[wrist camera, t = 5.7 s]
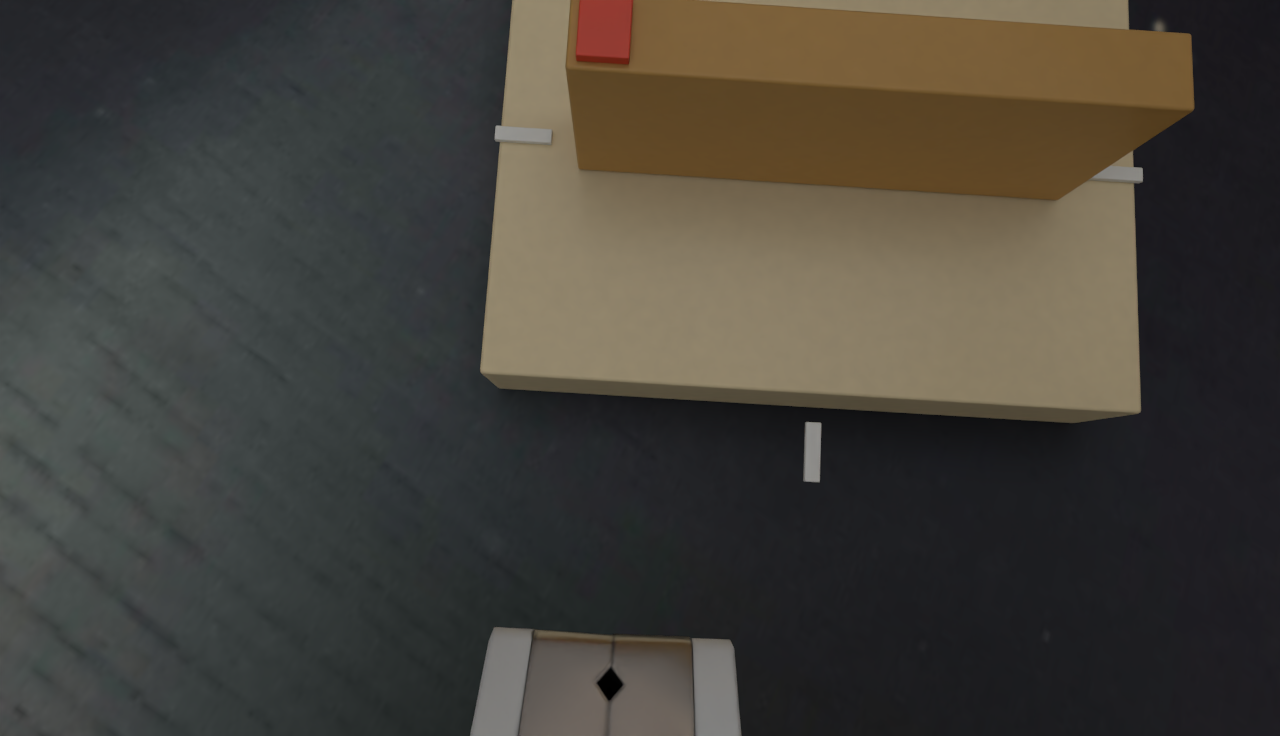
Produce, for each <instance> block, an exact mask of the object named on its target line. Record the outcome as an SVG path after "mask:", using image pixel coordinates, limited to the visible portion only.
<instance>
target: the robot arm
mask: <svg viewBox="0 0 1280 736" xmlns="http://www.w3.org/2000/svg"><path fill="white" fill-rule="evenodd" d="M470 736H741V725H740V713H739V700H738V688H737V676H736V664H735V652H734V647H733V645H732V643H731V641H730V639H703V638H691V639H690V637H687V636H661V635H634V634H613V635H608V634H593V633H578V632H563V631H548V630H535V629H523V628H504V627H494V629H493V631H492V634H491V636H490V639H489V642H488V647H487V652H486V658H485V663H484V668H483V673H482V678H481V683H480V688H479V693H478V698H477V703H476V708H475V713H474V718H473V723H472V728H471V733H470Z"/></svg>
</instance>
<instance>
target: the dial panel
mask: <svg viewBox="0 0 1280 736" xmlns="http://www.w3.org/2000/svg"><path fill="white" fill-rule="evenodd" d="M701 1H716V2H731V3H746V4H760V5H775V6H790V7H804V8H819V9H834V10H848V11H863V12H878V13H892V14H907V15H922V16H936V17H951V18H966V19H981V20H995V21H1010V22H1025V23H1039V24H1054V25H1069V26H1083V27H1098V28H1113V29H1127V30H1129V13H1128V0H701ZM569 12H570V0H512V11H511V22H510V34H509V45H508V56H507V68H506V79H505V91H504V102H503V114H502V125H501V126H496V128H495V141H496V142H500V148H499V160H498V171H497V183H496V194H495V206H494V217H493V228H492V240H491V251H490V263H489V274H488V286H487V297H486V309H485V320H484V332H483V343H482V355H481V366H480V371H481V373H482V374H483V375H484V376H485V377H486V378H488V379H489V380H490V381H491V382H492V383H493V384H495V385H496V386H497V387H498V388H500V389H517V390H533V391H550V392H567V393H583V394H600V395H616V396H633V397H649V398H666V399H683V400H699V401H716V402H732V403H749V404H766V405H782V406H799V407H815V408H832V409H848V410H865V411H882V412H898V413H915V414H931V415H948V416H964V417H981V418H998V419H1014V420H1031V421H1047V422H1064V423H1078V422H1085V421H1091V420H1098V419H1105V418H1112V417H1118V416H1125V415H1132V414H1138V413H1140V411H1141V395H1140V363H1139V331H1138V299H1137V267H1136V236H1135V204H1134V183H1141V182H1143V168H1136V167H1133V151H1131V152H1130V153H1128V154H1127V155H1125V156H1124V157H1122V158H1121V159H1119V160H1118V161H1116V162H1115V163H1113V164H1112V165H1110V166H1109V167H1107V168H1106V169H1104V170H1103V171H1101V172H1100V173H1098V174H1097V175H1095V176H1094V177H1092V178H1091V179H1089V180H1088V181H1086V182H1085V183H1083V184H1082V185H1080V186H1079V187H1077V188H1075V189H1074V190H1072V191H1071V192H1069V193H1068V194H1066V195H1065V196H1063V197H1062V198H1060V199H1059V200H1048V199H1032V198H1017V197H1001V196H986V195H970V194H955V193H940V192H924V191H909V190H893V189H878V188H862V187H847V186H831V185H816V184H800V183H785V182H769V181H754V180H738V179H723V178H708V177H692V176H677V175H661V174H646V173H630V172H615V171H599V170H584V169H579V168H578V162H577V154H576V147H575V139H574V131H573V123H572V115H571V107H570V99H569V92H568V84H567V76H566V68H565V65H566V52H567V39H568V25H569ZM820 453H821V423H817V422H805V441H804V476H803V481H804V482H820Z"/></svg>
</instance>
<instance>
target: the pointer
mask: <svg viewBox="0 0 1280 736" xmlns="http://www.w3.org/2000/svg"><path fill="white" fill-rule="evenodd" d="M565 68H566V76H567V84H568V92H569V99H570V107H571V115H572V123H573V131H574V139H575V147H576V154H577V162H578V168H579V169H584V170H599V171H615V172H630V173H646V174H661V175H677V176H692V177H708V178H723V179H738V180H754V181H769V182H785V183H800V184H816V185H831V186H847V187H862V188H878V189H893V190H909V191H924V192H940V193H955V194H970V195H986V196H1001V197H1017V198H1032V199H1048V200H1059V199H1060V198H1062V197H1063V196H1065V195H1066V194H1068V193H1069V192H1071V191H1072V190H1074V189H1075V188H1077V187H1079V186H1080V185H1082V184H1083V183H1085V182H1086V181H1088V180H1089V179H1091V178H1092V177H1094V176H1095V175H1097V174H1098V173H1100V172H1101V171H1103V170H1104V169H1106V168H1107V167H1109V166H1110V165H1112V164H1113V163H1115V162H1116V161H1118V160H1119V159H1121V158H1122V157H1124V156H1125V155H1127V154H1128V153H1130V152H1131V151H1133V150H1134V149H1136V148H1137V147H1139V146H1140V145H1142V144H1144V143H1145V142H1147V141H1148V140H1150V139H1151V138H1153V137H1154V136H1156V135H1157V134H1159V133H1160V132H1162V131H1163V130H1165V129H1166V128H1168V127H1169V126H1171V125H1172V124H1174V123H1175V122H1177V121H1178V120H1180V119H1181V118H1183V117H1184V116H1186V115H1187V114H1189V113H1190V112H1192V111H1193V110H1194V89H1193V66H1192V43H1191V35H1190V34H1186V33H1172V32H1157V31H1142V30H1127V29H1113V28H1098V27H1083V26H1069V25H1054V24H1039V23H1025V22H1010V21H995V20H981V19H966V18H951V17H936V16H922V15H907V14H892V13H878V12H863V11H848V10H834V9H819V8H804V7H790V6H775V5H760V4H746V3H731V2H716V1H701V0H570V12H569V25H568V39H567V52H566V65H565Z"/></svg>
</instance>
